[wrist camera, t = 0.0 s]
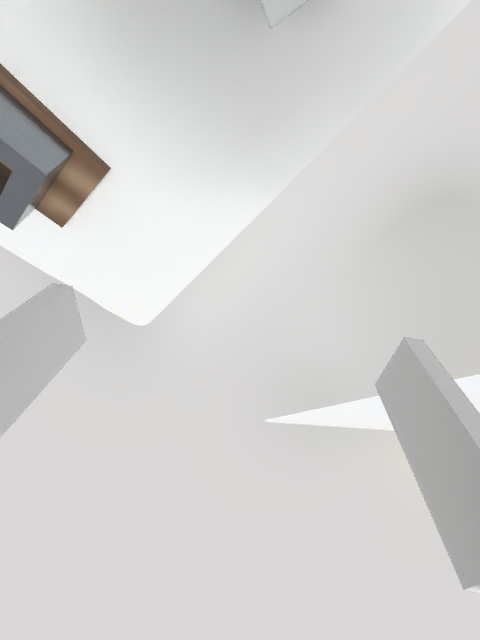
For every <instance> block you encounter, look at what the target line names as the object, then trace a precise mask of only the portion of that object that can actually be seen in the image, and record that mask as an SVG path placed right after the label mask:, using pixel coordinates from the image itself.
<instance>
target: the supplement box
mask: <svg viewBox="0 0 480 640" xmlns="http://www.w3.org/2000/svg"><path fill="white" fill-rule="evenodd" d="M306 1H307V0H260V2H261V5H262V8H263V10H264V13H265V16H266V19H267V22H268V25H269V27H270V28H273V27H275V26H276V25H277V24H278V23H280V22H281V21H282V20H283V19H285V18H286V17H287V16H288V15H289V14H291V13H292V12H293V11H294V10H296V9H297V8H298V7H300V6H301V5H302V4H303V3H305V2H306Z"/></svg>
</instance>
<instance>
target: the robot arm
mask: <svg viewBox="0 0 480 640" xmlns="http://www.w3.org/2000/svg"><path fill="white" fill-rule="evenodd" d="M85 342H86V337H85V333H84V329H83V325H82V322H81V318H80V314H79V310H78V307H77V303H76V299H75V295H74V292H73V287H72V286H68V285H61V284H55V283H52V284H51V285H49V286H48V287H47V288H45V289H44V290H42V291H41V292H39V293H38V294H36V295H35V296H33V297H32V298H31V299H29V300H28V301H26V302H25V303H23V304H22V305H20V306H19V307H17V308H16V309H15V310H13V311H12V312H10V313H9V314H7V315H6V316H4V317H3V318H1V319H0V437H1V436H2V435H3V434H4V433H5V432H6V431H7V430H8V428H9V427H10V426H11V425H12V424H13V423H14V422H15V421H16V419H17V418H18V417H19V416H20V415H21V414H22V413H23V411H24V410H25V409H26V408H27V407H28V406H29V405H30V404H31V402H32V401H33V400H34V399H35V398H36V397H37V396H38V394H39V393H40V392H41V391H42V390H43V389H44V387H46V386H47V384H48V383H49V382H50V381H51V380H52V379H53V378H54V376H55V375H56V374H57V373H58V372H59V371H60V370H61V369H62V367H63V366H64V365H65V364H66V363H67V362H68V361H69V360H70V358H71V357H72V356H73V355H74V354H75V352H77V351H78V349H79V348H80V347H81V346H82V345H83V344H84V343H85ZM375 386H376V388H377V391H378V393H379V395H380V398H381V400H382V402H383V405H384V407H385V409H386V411H387V414H388V416H389V418H390V421H391V423H392V425H393V428H394V430H395V432H396V434H397V437H398V439H399V441H400V444H401V446H402V448H403V451H404V453H405V455H406V458H407V460H408V462H409V465H410V467H411V469H412V471H413V473H414V476H415V478H416V481H417V483H418V485H419V488H420V490H421V492H422V495H423V497H424V499H425V502H426V504H427V506H428V508H429V511H430V513H431V515H432V518H433V520H434V522H435V524H436V527H437V529H438V532H439V534H440V536H441V539H442V541H443V543H444V545H445V548H446V550H447V552H448V555H449V557H450V559H451V562H452V564H453V566H454V569H455V571H456V573H457V575H458V578H459V580H460V582H461V585H462V587H463V589H464V590H466V591H473V592H479V593H480V414H479V412H478V411H477V410H476V408H475V407H474V406H473V404H472V403H471V402H470V401H469V399H468V398H467V397H466V395H465V394H464V393H463V391H462V390H461V389H460V387H459V386H458V385H457V384H456V382H455V381H454V380H453V378H452V377H451V376H450V374H449V373H448V372H447V370H446V369H445V368H444V367H443V365H442V364H441V363H440V361H439V360H438V359H437V357H436V356H435V355H434V353H433V352H432V351H431V350H430V348H429V347H428V346H427V344H426V343H425V342H424V340H418V339H412V338H405V337H404V338H403V340H402V342H401V343H400V345H399V347H398V348H397V350H396V352H395V353H394V355H393V356H392V358H391V359H390V361H389V363H388V364H387V366H386V368H385V369H384V371H383V372H382V374H381V376H380V377H379V379H378V380H377V382H376V384H375Z"/></svg>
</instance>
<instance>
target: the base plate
mask: <svg viewBox="0 0 480 640" xmlns="http://www.w3.org/2000/svg"><path fill="white" fill-rule="evenodd" d="M0 85H1V86H2V87H4V88H5V89H6V90H7V91H8V92H9V93H10V94H11V95H12V96H13V97H15V98H16V99H17V100H18V101H19V102H20V103H21V104H22V105H23V106H25V107H26V108H27V109H28V110H29V111H30V112H31V113H32V114H33V115H34V116H36V117H37V118H38V119H39V120H40V121H41V122H42V123H43V124H44V125H45V126H47V127H48V128H49V129H50V130H51V131H52V132H53V133H54V134H55V135H57V136H58V137H59V138H60V139H61V140H62V141H63V142H64V143H65V144H66V145H68V146H69V147H70V148H71V149H72V150H73V151H74V152H73V154H72V155H71V157H70V158H69V160H68V161H67V163H66V164H65V166H64V167H63V169H62V170H61V172H60V173H59V175H58V177H57V178H56V180H55V181H54V183H53V184H52V186H51V187H50V189H49V190H48V192H47V193H46V195H45V196H44V198H43V199H42V201H41V203H40V204H39V206H38V207H36V208H35V209H37V210H38V211H39V212H41V213H42V214H44V215H45V216H46V217H48V218H49V219H51V220H52V221H53V222H55V223H56V224H58V225H59V226H60V227H63V226H64V225H65V224H66V222H67V221H68V220H69V219H70V218H71V216H72V215H73V214H74V213H75V211H76V210H77V209H78V208H79V207H80V205H81V204H82V203H83V202H84V200H85V199H86V198H87V197H88V196H89V194H90V193H91V192H92V191H93V189H94V188H95V187H96V186H97V185H98V183H99V182H100V181H101V180H102V178H103V177H104V176H105V175H106V173H107V172H108V171H109V170H110V169H111V168H110V167H109V166H108V165H107V164H105V163H104V162H103V161H102V160H101V159H100V158H99V157H98V156H97V155H96V154H95V153H94V152H93V151H92V150H91V149H90V148H89V147H87V146H86V145H85V144H84V143H83V142H82V141H81V140H80V139H79V138H78V137H77V136H76V135H75V134H74V133H73V132H72V131H71V130H70V129H68V128H67V127H66V126H65V125H64V124H63V123H62V122H61V121H60V120H59V119H58V118H57V117H56V116H55V115H54V114H53V113H52V112H50V111H49V110H48V109H47V108H46V107H45V106H44V105H43V104H42V103H41V102H40V101H39V100H38V99H37V98H36V97H35V96H34V95H33V94H31V93H30V92H29V91H28V90H27V89H26V88H25V87H24V86H23V85H22V84H21V83H20V82H19V81H18V80H17V79H16V78H15V77H13V76H12V75H11V74H10V73H9V72H8V71H7V70H6V69H5V68H4V67H3V66H2V65H1V64H0ZM0 162H1V163H2V164H4V165H5V166H6V167H8V168H9V169H10V170H12V171H13V169H12V168H10V167H9V166H8V165H6V164H5V163H4V162H2V161H1V160H0Z"/></svg>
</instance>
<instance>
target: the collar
mask: <svg viewBox="0 0 480 640" xmlns="http://www.w3.org/2000/svg"><path fill="white" fill-rule="evenodd" d="M73 152H74V151H73V150H72V149H71V148H70V147H69V146H68V145H66V144H65V143H64V142H63V141H62V140H61V139H60V138H59V137H58V136H57V135H55V134H54V133H53V132H52V131H51V130H50V129H49V128H48V127H47V126H45V125H44V124H43V123H42V122H41V121H40V120H39V119H38V118H37V117H36V116H34V115H33V114H32V113H31V112H30V111H29V110H28V109H27V108H26V107H25V106H23V105H22V104H21V103H20V102H19V101H18V100H17V99H16V98H15V97H13V96H12V95H11V94H10V93H9V92H8V91H7V90H6V89H5V88H4V87H2V86H1V85H0V160H1V161H2V162H4V163H5V164H6V165H8V166H9V167H10V168H12V169H13V171H12V170H10V169H9V168H8V167H6V166H5V165H4V164H2V163H1V162H0V222H1V223H2V224H4V225H5V226H7V227H8V228H10V229H11V230H14V229H15V228H16V227H17V226H18V225H19V224H20V223H21V222H22V221H23V220H24V219H25V218H26V217H27V216H28V215H29V214H30V213H31V212H32V211H33V210H34V209H35V208H36V207H38V206H39V204H40V203H41V201H42V199H43V198H44V196H45V195H46V193H47V192H48V190H49V189H50V187H51V186H52V184H53V183H54V181H55V180H56V178H57V177H58V175H59V173H60V172H61V170H62V169H63V167H64V166H65V164H66V163H67V161H68V160H69V158H70V157H71V155H72V154H73Z"/></svg>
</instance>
